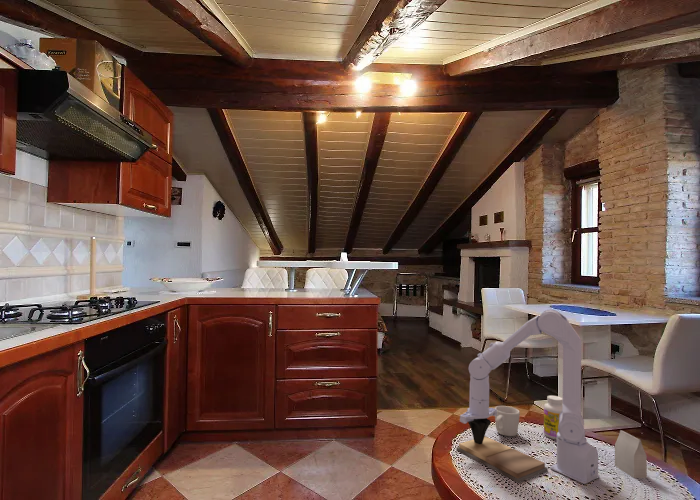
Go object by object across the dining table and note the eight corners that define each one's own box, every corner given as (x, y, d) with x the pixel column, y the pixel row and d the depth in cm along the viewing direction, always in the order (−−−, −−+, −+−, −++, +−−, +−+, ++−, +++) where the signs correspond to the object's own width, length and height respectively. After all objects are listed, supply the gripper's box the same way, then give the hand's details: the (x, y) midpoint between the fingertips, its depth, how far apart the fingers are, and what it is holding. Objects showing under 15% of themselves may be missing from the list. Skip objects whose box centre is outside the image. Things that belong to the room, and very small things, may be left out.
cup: (508, 443, 125) (509, 417, 126) (485, 435, 131) (485, 410, 132) (523, 434, 132) (523, 410, 133) (501, 427, 138) (501, 404, 139)
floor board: (547, 470, 108) (547, 463, 108) (518, 483, 101) (518, 475, 101) (485, 441, 126) (485, 435, 126) (456, 450, 119) (456, 443, 119)
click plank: (511, 452, 117) (511, 448, 117) (485, 461, 111) (485, 456, 111) (484, 439, 125) (484, 436, 125) (459, 447, 119) (459, 443, 119)
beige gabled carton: (634, 478, 105) (633, 440, 106) (614, 465, 112) (614, 430, 113) (646, 478, 106) (646, 440, 106) (626, 465, 113) (626, 430, 113)
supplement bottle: (539, 433, 134) (539, 395, 134) (554, 431, 136) (554, 393, 136) (554, 441, 127) (554, 401, 128) (570, 439, 129) (570, 400, 130)
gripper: (484, 390, 128) (483, 433, 127) (452, 397, 120) (451, 442, 120) (502, 397, 122) (502, 442, 121) (470, 404, 114) (469, 451, 114)
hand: (478, 442), depth 120 cm, fingers closed, pressing on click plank
